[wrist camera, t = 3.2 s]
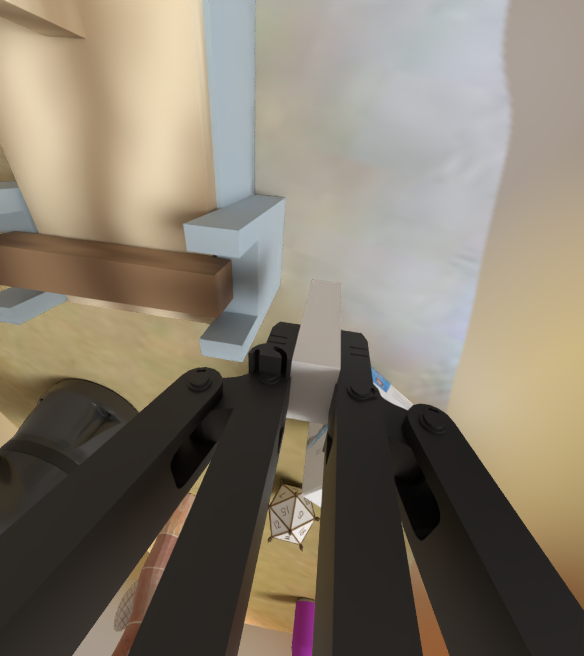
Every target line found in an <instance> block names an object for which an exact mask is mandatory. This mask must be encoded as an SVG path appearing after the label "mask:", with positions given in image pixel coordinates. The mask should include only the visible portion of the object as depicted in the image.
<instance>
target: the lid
mask: <svg viewBox="0 0 584 656" xmlns="http://www.w3.org/2000/svg"><path fill="white" fill-rule="evenodd" d="M0 145H1V147H2V150H3V152H4V154H5V156H6V159H7V161H8V163H9V166H10V168H11V170H12V173H13V175H14V177H15V179H16V182H17V184H18V186H19V189H20V191H21V193H22V196H23V198H24V200H25V202H26V205H27V207H28V209H29V212H30V214H31V216H32V219H33V221H34V223H35V225H36V228H37V230H38V232H39V234H42V235H50V236H57V237H65V238H72V239H80V240H87V241H95V242H102V243H110V244H117V245H125V246H132V247H140V248H148V249H155V250H163V251H170V252H178V253H185V254H193V255H200V256H208V257H215V258H217V255H212V254H204V253H197V252H189V251H187V247H186V240H185V233H184V226H183V224H184V223H187V222H189V221H192V220H194V219H196V218H199V217H201V216H204V215H206V214H208V213H211V212H213V211H216V210H217V202H216V188H215V174H214V159H213V145H212V131H211V117H210V103H209V89H208V75H207V61H206V47H205V33H204V18H203V4H202V0H0ZM66 297H67V299H68V301H69V302H72V303H79V304H85V305H92V306H98V307H104V308H111V309H117V310H124V311H130V312H136V313H143V314H149V315H156V316H162V317H169V318H175V319H181V320H188V321H194V322H201V323H207V324H211V323H212V322H213V321H214V320H215V318H213V317H207V316H200V315H194V314H187V313H181V312H174V311H168V310H161V309H155V308H148V307H142V306H135V305H129V304H122V303H116V302H109V301H102V300H96V299H89V298H83V297H76V296H70V295H66Z"/></svg>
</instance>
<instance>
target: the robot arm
mask: <svg viewBox="0 0 584 656" xmlns="http://www.w3.org/2000/svg"><path fill="white" fill-rule="evenodd" d="M368 350H369V349H368V342H367V340H366V339H365V337H364V336H363V335H362V333H356V332H350V331H343V330H341V283H335V282H328V281H321V280H313V279H312V281H311V285H310V289H309V294H308V298H307V302H306V306H305V310H304V314H303V318H302V322H301V325H299V324H292V323H285V322H279V323H278V324H276V325H275V326H274V327H273V328H272V330H271V333H270V336H269V338H268V340H267V343H265V344H260V345H257V346H255V347H254V348H252V349H251V350H250V352H249V353H248V354H249V373H248V374H246V375H243V376H240V377H232V378H222V376H221V375H220V373H219V372H218V371H216V370H214V369H212V368H207V367H203V368H196V369H192V370H189V371H188V372H186V373H185V374H183V375H182V376H181V377H179V378H178V379H177V380H176V381H175V382H174V383H173V384H172V385H170V386H169V387H168V388H167V389H166V390H165V391H164V392H162V393H161V394H160V395H159V396H158V397H157V398H156V399H154V400H153V401H152V402H151V403H150V404H149V405H148V406H146V407H145V408H144V409H143V410H142V411H141V412H140V413H138V412H137V411H136V410H135V409H134V408H133V407H132V406H131V405H130V404H129V403H128V402H127V401H126V400H124V399H123V398H122V397H120V396H119V395H117V394H116V393H114V392H112V391H110V390H109V389H107V388H104V387H102V386H100V385H97V384H94V383H91V382H88V381H83V380H76V379H68V380H63V381H60V382H58V383H57V384H55V385H54V386H53V387H51V388H50V389H49V390H48V391H46V392H45V393H44V394H43V395H42V396H41V397H40V399H39V401H38V403H37V407H36V408H35V409H34V410H33V411H32V412H31V413H30V415H29V416H28V417H27V419H26V420H25V421H24V423H23V424H22V425H21V427H20V428H19V430H18V431H17V433H16V434H15V435H14V436H13V437H12V438H11V439H10V440H9V441H8V442H7V443H6V444H4V445H3V446H2V447H1V448H0V656H72V655H73V654H74V652H75V651H76V649H77V648H78V646H79V645H80V644H81V642H82V641H83V640H84V638H85V637H86V635H87V634H88V632H89V631H90V629H91V628H92V627H93V625H94V624H95V623H96V621H97V620H98V618H99V617H100V615H101V614H102V613H103V611H104V610H105V609H106V607H107V606H108V604H109V603H110V601H111V600H112V598H113V597H114V596H115V595H116V593H117V592H118V590H119V589H120V588H121V586H122V585H123V583H124V582H125V580H126V579H127V578H128V576H129V575H130V573H131V572H132V571H133V569H134V568H135V566H136V565H137V564H138V562H139V561H140V559H141V558H142V557H143V555H144V554H145V552H146V551H147V550H148V548H149V547H150V545H151V544H152V543H153V541H154V540H155V538H156V537H157V536H158V534H159V533H160V531H161V530H162V529H163V527H164V526H165V524H166V523H167V522H168V520H169V519H170V517H171V516H172V514H173V513H174V512H175V510H176V509H177V507H178V506H179V505H180V503H181V502H182V500H183V499H184V498H185V496H186V495H187V493H188V492H189V491H190V489H191V488H192V486H193V485H194V484H195V482H196V481H197V479H198V478H199V477H200V475H201V474H202V472H203V471H204V470H205V468H206V467H207V465H208V464H209V463H210V464H209V467H208V469H207V471H206V474H205V476H204V478H203V481H202V483H201V485H200V488H199V490H198V492H197V495H196V497H195V499H194V502H193V504H192V506H191V509H190V511H189V513H188V516H187V518H186V520H185V523H184V525H183V527H182V530H181V532H180V534H179V537H178V539H177V541H176V544H175V546H174V548H173V551H172V553H171V555H170V558H169V560H168V562H167V564H166V567H165V569H164V571H163V574H162V576H161V578H160V581H159V583H158V585H157V588H156V590H155V592H154V595H153V597H152V599H151V602H150V604H149V606H148V609H147V611H146V613H145V616H144V618H143V620H142V623H141V625H140V627H139V630H138V632H137V634H136V637H135V639H134V641H133V644H132V646H131V648H130V651H129V653H128V655H127V656H237V654H238V650H239V645H240V640H241V635H242V631H243V625H244V621H245V616H246V611H247V607H248V602H249V597H250V592H251V587H252V583H253V578H254V573H255V568H256V563H257V559H258V554H259V549H260V544H261V539H262V535H263V530H264V525H265V520H266V515H267V511H268V506H269V501H270V496H271V492H272V487H273V482H274V477H275V472H276V468H277V463H278V458H279V453H280V448H281V444H282V439H283V434H284V427H285V420H286V418H291V419H297V420H302V421H308V422H313V423H318V424H324V425H327V422H328V430H327V434H326V438H325V442H324V446H323V450H322V452H324V468H323V484H322V500H321V516H320V532H319V548H318V564H317V580H316V596H315V612H314V628H313V644H312V656H423V653H422V647H421V641H420V634H419V628H418V622H417V616H416V610H415V603H414V597H413V591H412V585H411V578H410V572H409V566H408V560H407V554H406V547H405V541H404V535H403V529H402V525H403V528H404V531H405V533H406V536H407V539H408V542H409V544H410V547H411V550H412V553H413V556H414V558H415V561H416V564H417V566H418V569H419V572H420V575H421V578H422V580H423V583H424V586H425V588H426V591H427V594H428V597H429V600H430V602H431V605H432V608H433V611H434V614H435V616H436V619H437V622H438V625H439V627H440V630H441V633H442V635H443V638H444V641H445V644H446V647H447V649H448V652H449V655H450V656H584V610H583V609H582V607H581V606H580V604H579V603H578V601H577V600H576V599H575V597H574V596H573V594H572V593H571V591H570V590H569V589H568V587H567V585H566V584H565V582H564V581H563V580H562V578H561V577H560V575H559V574H558V572H557V571H556V570H555V568H554V567H553V565H552V564H551V562H550V561H549V559H548V558H547V556H546V555H545V553H544V552H543V551H542V549H541V548H540V546H539V545H538V543H537V542H536V541H535V539H534V538H533V536H532V535H531V533H530V532H529V530H528V529H527V527H526V526H525V525H524V523H523V522H522V520H521V519H520V517H519V516H518V514H517V513H516V511H515V510H514V509H513V507H512V506H511V504H510V503H509V501H508V500H507V498H506V497H505V496H504V494H503V493H502V491H501V490H500V488H499V487H498V485H497V484H496V483H495V481H494V480H493V478H492V477H491V475H490V474H489V472H488V471H487V469H486V468H485V466H484V465H483V464H482V462H481V461H480V459H479V458H478V456H477V455H476V453H475V452H474V450H473V449H472V448H471V446H470V445H469V443H468V442H467V440H466V439H465V437H464V436H463V435H462V433H461V432H460V430H459V429H458V427H457V426H456V424H455V423H454V422H453V421H452V420H451V418H450V417H449V416H448V415H447V414H446V413H444V412H443V411H441V410H440V409H438V408H436V407H433V406H431V405H426V404H416V405H413V406H412V407H411V408H409V409H408V410H406V409H404V408H402V407H399V406H397V405H395V404H393V403H391V402H389V401H387V400H386V399H384V398H383V397H382V396H381V394H380V392H379V389H378V388H377V387H376V386H375V385H374V384H373V378H372V370H371V363H370V358H369V351H368ZM210 461H211V462H210Z"/></svg>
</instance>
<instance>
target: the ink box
mask: <svg viewBox="0 0 584 656" xmlns="http://www.w3.org/2000/svg"><path fill="white" fill-rule="evenodd" d="M371 370H372V378H373V384H374V385H375V386H376V387H377V388H378V389H379V392H380V394H381V396H382V397H383V398H384V399H386V400H387V401H389V402H391V403H393V404H395V405H397V406H399V407H402V408H404V409H406V410H408V409H409V408H411V407H412V406H413V404H412V403H411V402H410V401H409V400H408V399H407V398H406V397H404V396H403V395H402V394H401V393H400V392H399V391H398V390H397V389H396V388H394V387H393V386H392V385H391V384H390V383H389V382H388V381H386V380H385V379H384V378H383V377H382V376H381V375H380V374H379V373H378V372H376V371H375V370H374V369H373V368H372V367H371ZM327 430H328V422H327V425H324V424H318V423H313V422H309V429H308V438H307V447H306V456H305V466H304V475H303V484H302V494H301V495H302V496H303V497H305V498H307V499H308V500H310V501H311V502H313V503H315V504H316V505H318V506H319V507H321V500H322V484H323V468H324V452H322V450H323V446H324V442H325V438H326V434H327Z"/></svg>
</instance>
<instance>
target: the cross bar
mask: <svg viewBox="0 0 584 656" xmlns="http://www.w3.org/2000/svg"><path fill="white" fill-rule="evenodd" d="M0 285H5V286H11V287H18V288H24V289H31V290H37V291H44V292H50V293H57V294H63V295H70V296H76V297H83V298H89V299H96V300H102V301H109V302H116V303H122V304H129V305H135V306H142V307H148V308H155V309H161V310H168V311H174V312H181V313H187V314H194V315H200V316H207V317H213V318H219V316H220V315H221V314H222V313H223V311H224V310H225V309H226V307H227V306H228V305H229V303H230V302H231V301H232V300H233V279H232V260H230V259H223V258H215V257H208V256H200V255H193V254H185V253H178V252H170V251H163V250H155V249H148V248H140V247H132V246H125V245H117V244H110V243H102V242H95V241H87V240H80V239H72V238H65V237H57V236H50V235H42V234H35V233H27V232H20V231H12V232H8V233H3V234H0Z"/></svg>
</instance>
